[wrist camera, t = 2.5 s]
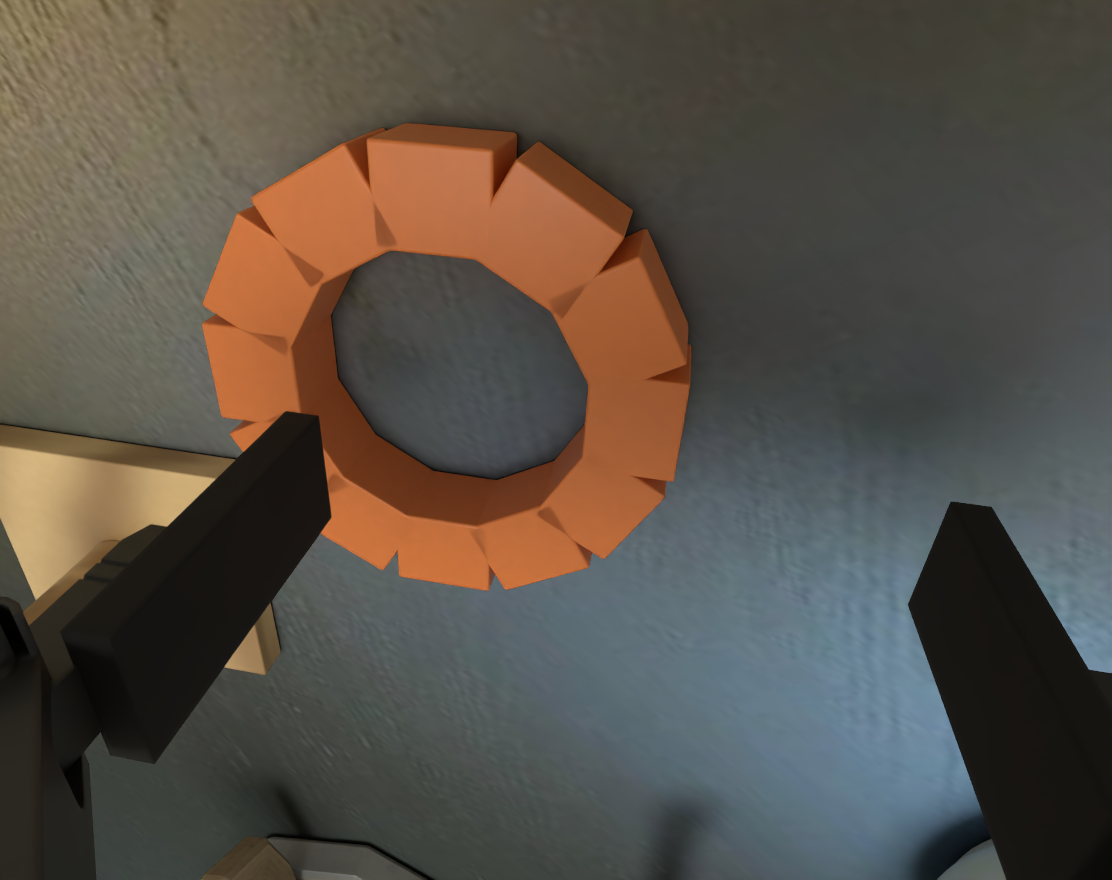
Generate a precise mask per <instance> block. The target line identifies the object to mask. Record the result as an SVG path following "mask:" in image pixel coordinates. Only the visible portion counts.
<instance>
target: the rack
mask: <svg viewBox="0 0 1112 880" xmlns="http://www.w3.org/2000/svg"><path fill="white" fill-rule="evenodd" d="M234 461H235V459H229V458H222V457H215V456H209V455H202V454H195V453H188V452H182V451H175V450H168V449H162V448H155V447H148V446H142V445H135V444H128V443H121V442H115V441H108V440H101V439H95V438H88V437H81V436H75V435H68V434H61V433H54V432H48V431H41V430H34V429H28V428H21V427H14V426H7V425H1V424H0V518H1V521H2V523H3V525H4V527H5V530H6V532H7V534H8V537H9V539H10V541H11V544H12V546H13V548H14V550H15V553H16V555H17V557H18V560H19V562H20V564H21V567H22V569H23V571H24V573H25V576H26V578H27V580H28V583H29V585H30V587H31V590H32V592H33V594H34V597H35V599H36V601H35V602H33V603H32V604H31V605H30V606H29V607H28V608H27V609H26V610H24V611H23V613H24V616H25V618H26V620H27V622H28V625H30V624H31V623H32V622H33V621H34V620H36V619H37V618H38V617H39V616H40V615H41V614H42V613H43V612H44V611H45V610H46V609H47V608H49V607H50V606H51V605H52V604H53V603H54V602H55V601H56V600H57V599H58V598H59V597H60V596H62V595H63V594H64V593H65V592H66V591H67V590H68V589H69V588H70V587H71V586H72V585H73V584H75V583H76V582H77V581H78V580H79V579H83V578H84V574H85V573H87V572H88V571H89V570H90V569H91V568H92V567H93V566H94V565H95V564H96V563H100V562H101V559H102V558H103V557H104V556H105V555H106V554H107V553H108V552H109V551H110V550H111V549H113V548H114V547H115V546H116V545H117V544H118V543H119V542H120V541H121V540H122V539H124V538H126V537H128V536H130V535H132V534H133V533H135V532H137V531H139V530H141V529H143V528H145V527H147V526H148V525H150V524H154V525H160V526H166V527H167V526H168V525H169V524H170V523H171V522H172V521H173V520H174V519H175V518H176V517H177V516H178V515H180V514H181V513H182V512H183V511H184V510H185V509H186V508H187V507H188V506H189V505H190V504H191V503H192V502H193V501H194V500H195V499H196V498H197V497H198V496H199V495H200V494H201V493H202V492H203V491H204V490H205V489H206V488H207V487H208V486H209V485H210V484H211V483H212V482H213V481H214V480H215V479H216V478H217V477H218V476H220V475H221V474H222V473H223V472H224V471H225V470H226V469H227V468H228V467H229V466H230V465H231V464H232V463H233V462H234ZM279 654H280V646H279V641H278V636H277V632H276V627H275V622H274V617H273V612H272V607H271V602H270V604H269V605H268V607H267V608H266V609H265V611H264V612H263V614H262V615H261V616H260V618H259V619H258V621H257V622H256V623H255V625H254V626H253V628H252V629H251V630H250V632H249V633H248V634H247V636H246V637H245V639H244V640H243V641H242V643H241V644H240V646H239V647H238V648H237V650H236V651H235V653H234V654H233V655H232V657H231V658H230V660H229V661H228V662H227V664H226V665H225V666H224V667H225V668H231V669H236V670H241V671H247V672H252V673H258V674H263V675H266V674H267V672H268V671H269V669H270V667H271V666H272V664H273V663H274V661H275V660H276V658H277V657H278V655H279Z"/></svg>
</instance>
